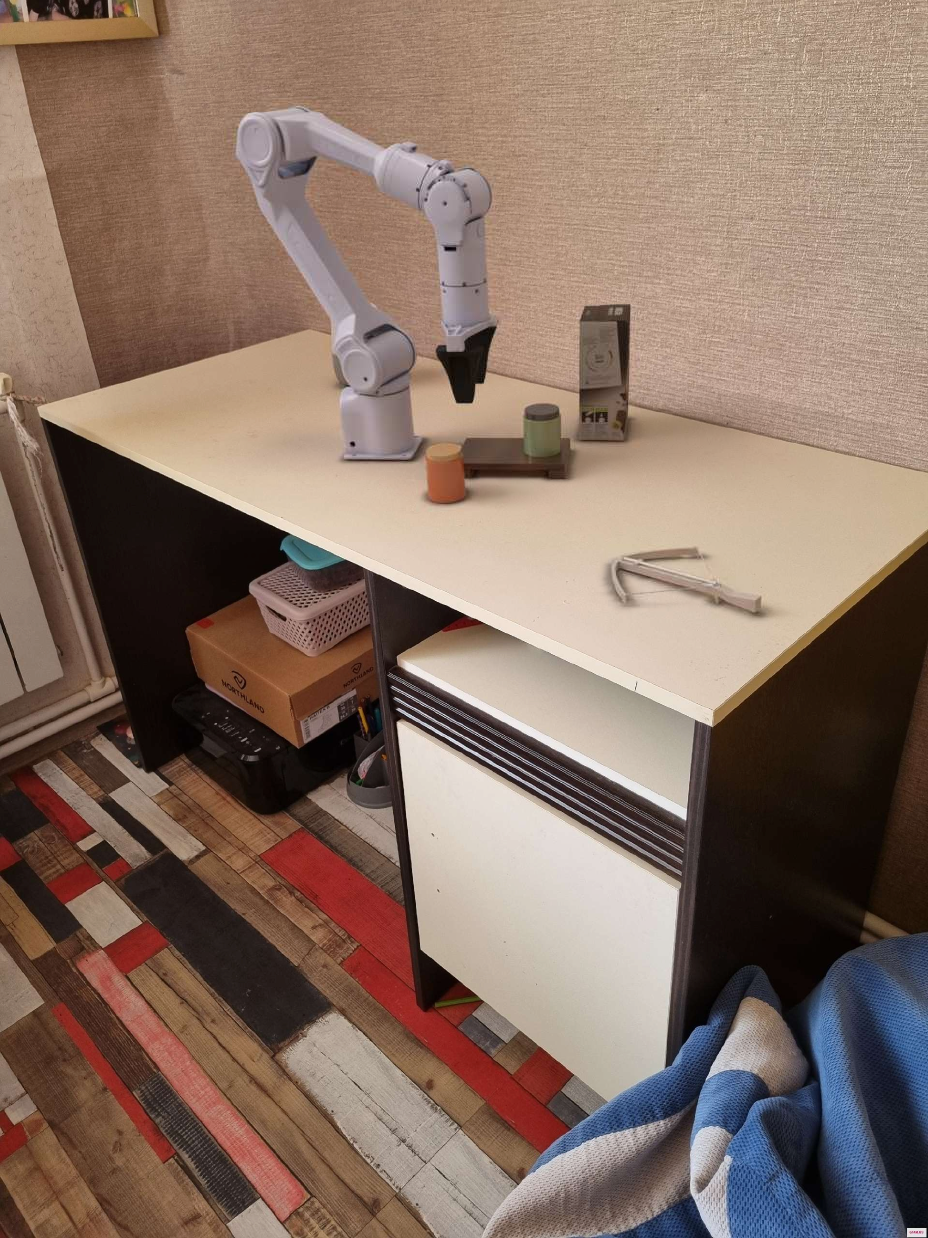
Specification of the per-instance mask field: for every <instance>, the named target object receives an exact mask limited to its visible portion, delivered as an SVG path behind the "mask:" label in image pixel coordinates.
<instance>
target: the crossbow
mask: <svg viewBox="0 0 928 1238" xmlns="http://www.w3.org/2000/svg"><path fill="white" fill-rule="evenodd" d="M693 555H699V556H700V558H701V560H702V561H703V562H704V565H705V566H706V568H707V570H708V571H709V574H710V575H711V577H712V578H713V579H711V578H709V579H707V578H705V577H701V576H697V575H693V574H690V573H686V572H683V571H679V570H675V569H671V568H668V567H664V566H660V565H656V564H653V563H649V562H646V561H644V560H647V559H653V558H654V559H655V558H665V557H672V556H674V557H675V556H693ZM610 567H611V579H612V583H613V585H614V588H615V591H616V592H617V594H618V595H619V597H620V598H621V602H623V603H627V596H632V595H644V594H652V593H662V592H663V593H664V592H673V591H683V590H684V591H685V590H696V591H700V592H703V593H707V594H710V595H712V599H714V600H715V603H716V604H719V603H720V602H722V601H725V602H726V603H729V604H731V605H734V606H737V607H739V608H742V609H744V610H746V611H749V612H752V613H756V612H757V611H759V610H760V609H761V608H762V595H759V594H754V593H748V592H742V591H737V590H734V589H732V588H731V587H729V586H727V585H725V584H723V583H721V582H717V580H716V578H715V576H714V575H713V573H712V571H711V570H710V568H709V566H708V564H707V562H706V560H705V559H704V557H703V555H702V554H701V552H700V551H699V546H695V545H693V546H689V547H687V546H686V547H670V548H661V549H650V550H649V549H648V550H642V551H636V552H631V553H627V554H622V555H620V556H619V557H617V558H615V559H613V561H612V564H611V565H610ZM619 569H621V570H626V571H629V572H631V573H636V574H639V575H644V576H646V577H647V576H648V577H651V578H654V579H658V580H661V581H665V582H667V583H670V584H671V583H672V584H675V585H679V586H682V587H685V588H675V589H665V590H655V591H645V592H644V591H643V592H634V593H626V592H625V591H624V589H623V587H622V586H621V584H620V581H619V580H618V577H617V571H618V570H619Z"/></svg>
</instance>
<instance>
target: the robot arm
mask: <svg viewBox="0 0 928 1238" xmlns="http://www.w3.org/2000/svg"><path fill="white" fill-rule="evenodd" d="M235 147H236V148H235V156H236V158H237V160H238V161H239V162H240V164H241V165H242V167H243V169H244V170H245V172H246V173H247V175H248V177H249V179H250V182H251V186H252V190H253V193H254V195H255V198H256V201H257V206H258V208H259V209H260V211H261V213H262V214H263V216H264V217H265V219H266V221H267V223H268V224H269V225H270V227H271V228H272V230H273V231H274V233H275V236H277V238H278V240H279V241H280V243H281V244H282V246H283V247H284V249H285V251H286V252H287V253H288V255H289V257H290V258H291V260H292V262H293V264H294V265H295V266H296V268H297V269H298V271H299V273H300V274H301V276H302V277H303V278H304V280H305V283H306V284H307V285H308V286H309V288H310V290H311V291H312V293H313V294H314V296H315V298H316V299H317V301H318V302H319V304H320V306H321V307H322V309H323V310H324V311H325V313H326V315H327V316H328V318H329V319H330V322H331V321H332V323H333V324H334V326H335V327H336V329H337V334H336V338H335V342H334V346H333V350H334V352H335V353H336V355H337V357H338V358H339V361H340V364H341V368H342V372H343V375H344V378H345V380H346V381H347V383H348V384H349V385H350V386H351V387H347V386H345V387H344V388H343V389H342V390H341V393H340V397H339V419H340V425H341V433H342V441H343V446H344V447H343V448H344V454H343V459H344V460H394V461H395V460H397V461H398V460H403V461H405V460H406V461H407V460H411V459H413V457H414V456H415V454H416V452H417V451H418V449H419V447H420V446H421V443H422V442H423V440H424V436H423V435H415V428H414V419H413V418H414V417H413V408H412V407H413V406H412V396H411V385H410V380H411V371H412V370H413V369H414V367H415V365H416V363H417V359H418V350H417V347H416V346H417V345H416V344H415V341H414V339H413V338H412V337H411V336H410V335H409V333H408V332H407V331H405V330H403V329H402V328H400V326H398V324H397V323H396V322H395V320H394V318H393V317H392V316H391V315H390V314H388V313H386V312H384V311H382V310H380V309H379V308H378V309H376V308H374V307H372V305H371V304H370V302H371V301H370V300H369V299H368V297H367V296H366V294H365V292H364V291H363V289H362V288H361V286H360V285H359V282H357V280H356V278H355V277H354V275H353V273H352V271H351V270H350V268H349V267H348V266H347V264H346V262H345V261H344V259H343V257H342V256H341V254H340V252H339V251H338V249H337V248H336V246H335V245H334V243H333V242H332V240H331V238H330V237H329V235H328V234H327V232H326V230H325V229H324V227H323V226H322V224H321V223H320V220H319V219H318V217H317V216H316V214H315V213H314V211H313V210H312V208H311V206H310V205H309V203H308V202H307V199H306V191H307V186H308V184H309V181H310V179H311V176H312V174H313V172H314V169H315V166H316V164H317V162H318V159H319V157H320V158H323V159H325V160H329V161H331V162H334V163H336V164H339V165H340V166H343V167H346V168H349V169H351V170H354V171H356V172H359V173H361V174H364V175H366V176H368V177H372V178H374V179H375V182H376V184H377V188H378V190H379V191H380V193H382V194H384V195H385V196H388V197H390V198H392V199H394V200H396V201H398V202H400V203H403V204H405V205H407V206H409V207H411V208H413V209H416V210H417V211H419V212H422V213H425V215H426V217H427V219H428V220H429V222H430V223H431V225H432V226H433V229H434V235H435V237H434V238H435V240H436V247H437V259H438V260H437V261H438V275H439V288H440V303H441V304H440V305H441V315H442V316H441V317H442V319H441V321H440V324H441V325H440V326H441V328H442V331H443V332H444V334H445V344H438V345H437V346H436V348H435V354H436V358H437V360H438V361H439V362H440V364H441V365H442V367H443V369H444V371H445V373H446V375H447V378H448V381H449V385H450V388H451V392H452V396H453V398H454V401H455V403H456V404H459V405H460V404H462V405H463V404H466V405H467V404H469V405H470V404H473V403H474V400H475V395H476V387H477V386H476V385H483V384H484V383H485V380H486V376H487V370H488V361H489V354H490V350H491V349H490V348H491V345H492V341H493V338H494V336H495V333H496V331H497V329H498V327H497V326H499V324H500V317H499V316H491V315H490V304H489V303H490V302H489V282H488V262H487V260H488V259H487V258H488V257H487V242H486V240H487V239H486V223H485V221H486V220H485V219H486V218H485V217H486V215H487V214H488V212H489V211H490V209H491V207H492V203H493V191H492V188H491V184H490V182H489V180H488V178H486V176H485V175H484V173H481V172H480V171H478V170H477V169H476V168H475V167H474V166H465V167H460V168H458V169H457V170H455V169H454V167H453V162H452V161H450V160H448V159H447V158H444V159H440V160H438V159H436V158H434V157H431V156H430V155H427V154H425V153H423V152H420V151H418V144H417V143H414V142H412V141H405V142H404V141H403V142H402V143H397V142H396V143H393V144H391V145H390V146H389V147H387V148H384V147H383V146H380V145H378V144H377V143H375V142H373V141H371V140H369V139H368V138H365V137H363V136H362V135H360V134H358V133H356V132H354V131H352V130H351V129H348V128H346V127H345V126H343V125H341V124H339V123H337V122H335V121H333V120H331V119H329V118H328V117H327V116H325V114H323V113H322V112H319V111H314V110H313V111H312V110H310V109H309V108H308V107H306V106H301V105H296V106H292V107H289V108H285V109H279V110H271V111H270V110H269V111H264V112H259V111H253V112H249V113H247V114H246V115H244V116H243V117H242V119H241V120H240V122H239V124H238V127H237V136H236V146H235ZM364 340H366V341H364Z"/></svg>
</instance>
